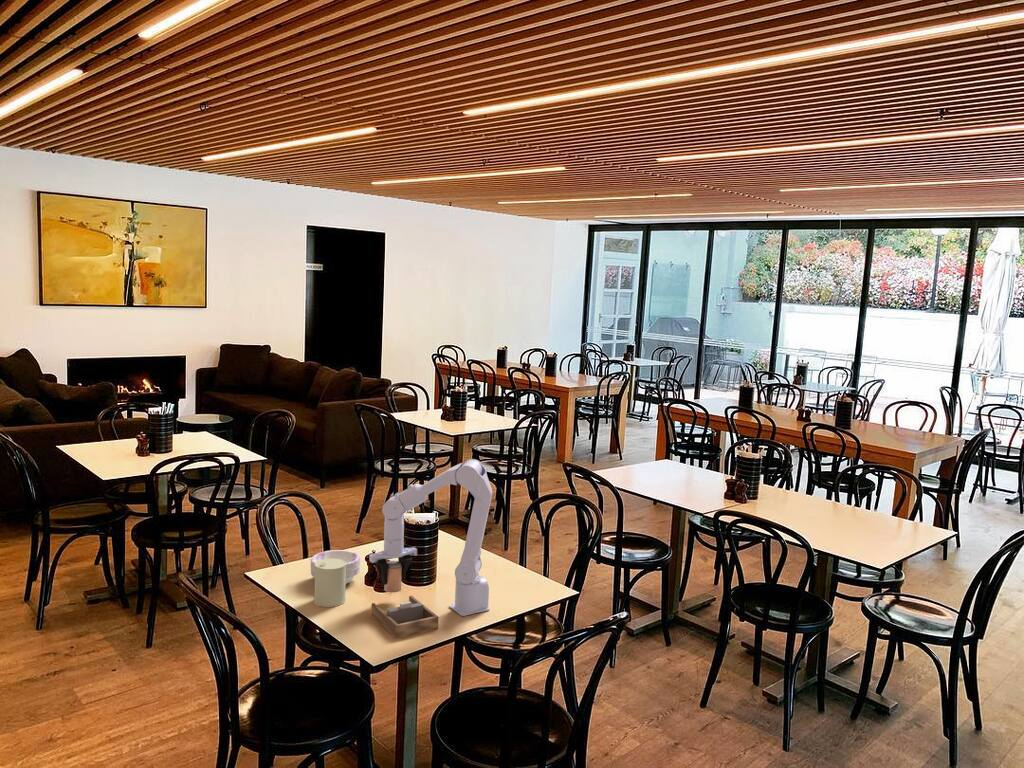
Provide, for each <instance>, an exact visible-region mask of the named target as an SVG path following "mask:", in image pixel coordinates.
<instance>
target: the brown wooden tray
mask: <svg viewBox="0 0 1024 768" xmlns="http://www.w3.org/2000/svg"><path fill="white" fill-rule="evenodd" d="M408 601H410V602H411V604H415V603H421V601H420V600H418V599H417V598H415V597H414V596H413V595H409V596H408ZM370 608H371V610H370V611H371V614H370V615H371V616H372V618H374V620H376V621H377V622H378V623H379V622H380V623H381V624H382V625H381V624H380V623H379V624H380V625H381V626H383V628H385V629H386V630H387V631H388V633H390V634H391V635H392V636H393V635H394V636H395V639H400V638H403V637H405V638H406V637H407V636H412V635H413V634H414V635H417V634H422V633H427V632H430V631H434V630H439V617H440V616H438V615H437V614H436V613H435V612H433V611H432V610H431V609H429V607H427V606H425V605H424V607H423V619H419V620H414V621H409V622H405V623H400V624H397V623H396V622H395V621H394V620H393V619H392V618H391V617H390V616H388V615H387V609H386V610H383V609H382V608H380V607H379V606H378V605H377V604H376V602H372V603H371V607H370ZM394 636H393V637H394Z"/></svg>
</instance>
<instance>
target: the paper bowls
mask: <svg viewBox="0 0 1024 768" xmlns="http://www.w3.org/2000/svg"><path fill="white" fill-rule="evenodd" d="M328 558H336V559H341V560H344V561H345V562H346V578H345V585H348V584H349V583H351V582H352V581H353V579H354V577H355V576H357V575H358V574H359V573H360V571H361V556H360V555H359V553H358V552H355V551H352V550H346V549H344V550H343V549H335V550H334V549H333V550H332V549H331V550H325V551H321V552H318V553H316V554H314V555H312V557H311V558H310V574H311V576H312V577H313V578H315V563H316V562H317V561H319V560H322V559H328Z"/></svg>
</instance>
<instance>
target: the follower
mask: <svg viewBox="0 0 1024 768" xmlns="http://www.w3.org/2000/svg"><path fill="white" fill-rule="evenodd" d="M424 606H425V604H423V603H422V602H420V603H415V604H411V602H410V601H409V600H408V601H404V602H400V603H399V606H397V607H392V608H387V609H386V610H387V615H388V616H390V617H391V618H392V619H393V620H394V621H395V622H396V623H397V624H400V623H405V622H409V621H414V620H419V619H423V607H424Z"/></svg>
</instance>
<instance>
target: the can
mask: <svg viewBox="0 0 1024 768" xmlns="http://www.w3.org/2000/svg"><path fill="white" fill-rule="evenodd" d="M345 578H346V562H345V561H344V560H341V559H336V558H328V559H322V560H319V561H317V562H316V563H315V577H314V597H313V598H314V599H313V602H314V604H315V605H316V606H319V607H321V606H322V607H323V608H333V607H334V606H335V607H339V606H341V604H342V605H344V603H345V602H346V600H347V599H346V584H345ZM338 605H339V606H338Z"/></svg>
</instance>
